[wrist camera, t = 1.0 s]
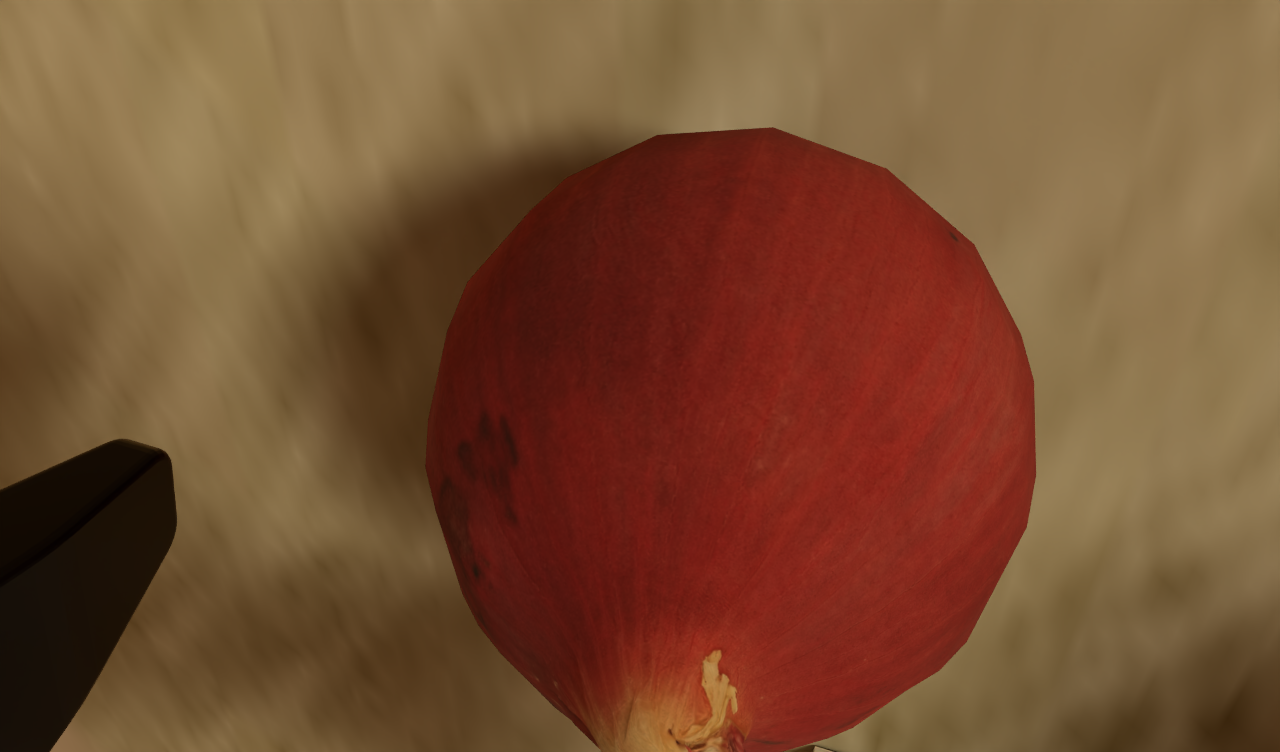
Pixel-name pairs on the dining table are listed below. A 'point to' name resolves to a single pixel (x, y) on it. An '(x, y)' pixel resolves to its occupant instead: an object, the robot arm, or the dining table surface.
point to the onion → (730, 443)
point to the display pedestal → (820, 750)
